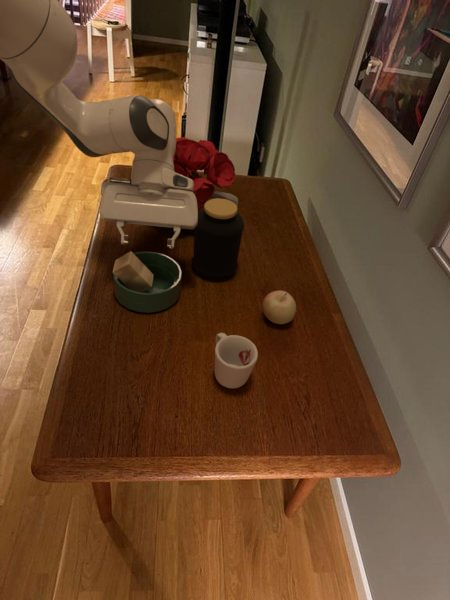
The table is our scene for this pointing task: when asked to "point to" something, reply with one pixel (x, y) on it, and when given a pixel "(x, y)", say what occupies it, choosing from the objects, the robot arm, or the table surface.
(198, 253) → the container
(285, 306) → the fruit
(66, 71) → the robot arm
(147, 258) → the green pet bowl
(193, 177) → the bouquet
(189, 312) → the table surface
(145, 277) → the plain beige block
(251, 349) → the cup
